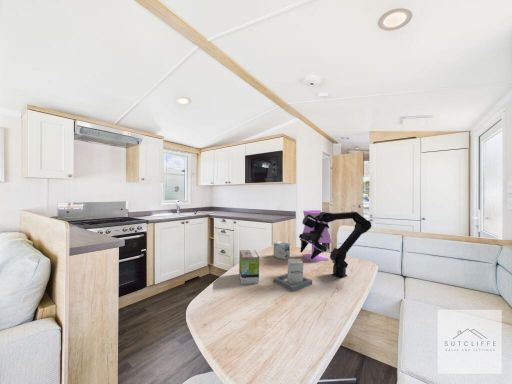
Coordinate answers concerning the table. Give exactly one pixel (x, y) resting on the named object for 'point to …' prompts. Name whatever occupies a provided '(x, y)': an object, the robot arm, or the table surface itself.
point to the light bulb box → (281, 250)
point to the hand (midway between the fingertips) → (305, 255)
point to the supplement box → (295, 271)
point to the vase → (322, 240)
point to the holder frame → (290, 287)
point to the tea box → (249, 266)
